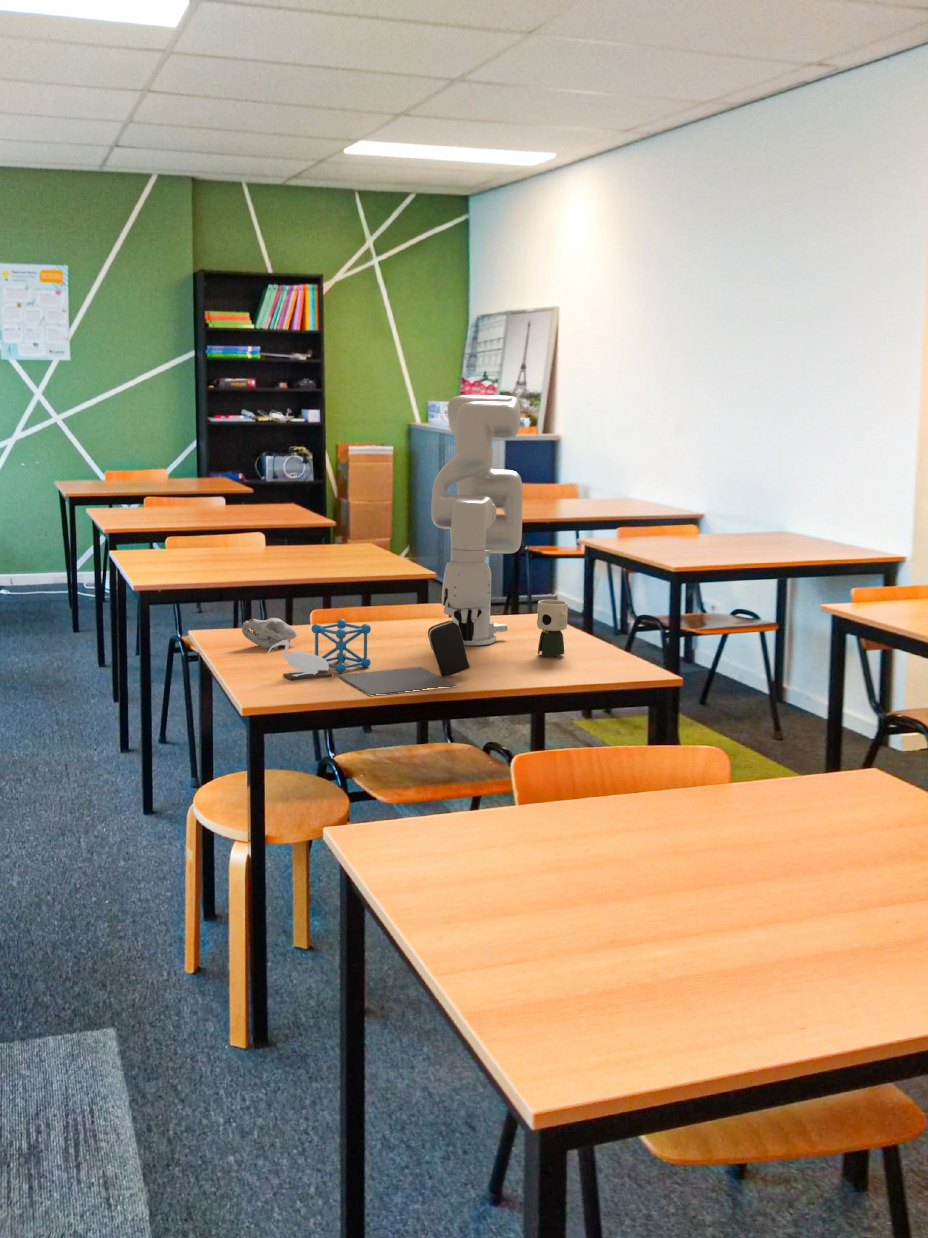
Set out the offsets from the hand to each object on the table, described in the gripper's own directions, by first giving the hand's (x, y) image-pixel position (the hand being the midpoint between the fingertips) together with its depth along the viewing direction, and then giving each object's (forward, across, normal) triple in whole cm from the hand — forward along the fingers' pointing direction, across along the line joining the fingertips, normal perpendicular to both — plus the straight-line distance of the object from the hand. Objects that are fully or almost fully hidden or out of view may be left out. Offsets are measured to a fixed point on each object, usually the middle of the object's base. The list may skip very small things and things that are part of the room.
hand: (465, 639), depth 274 cm
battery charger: (+7, +2, 0) cm, 8 cm away
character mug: (+8, -28, -9) cm, 30 cm away
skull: (+8, +30, -44) cm, 54 cm away
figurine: (+8, +34, -12) cm, 37 cm away
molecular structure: (+8, +22, -18) cm, 29 cm away
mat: (+8, +16, -1) cm, 18 cm away
